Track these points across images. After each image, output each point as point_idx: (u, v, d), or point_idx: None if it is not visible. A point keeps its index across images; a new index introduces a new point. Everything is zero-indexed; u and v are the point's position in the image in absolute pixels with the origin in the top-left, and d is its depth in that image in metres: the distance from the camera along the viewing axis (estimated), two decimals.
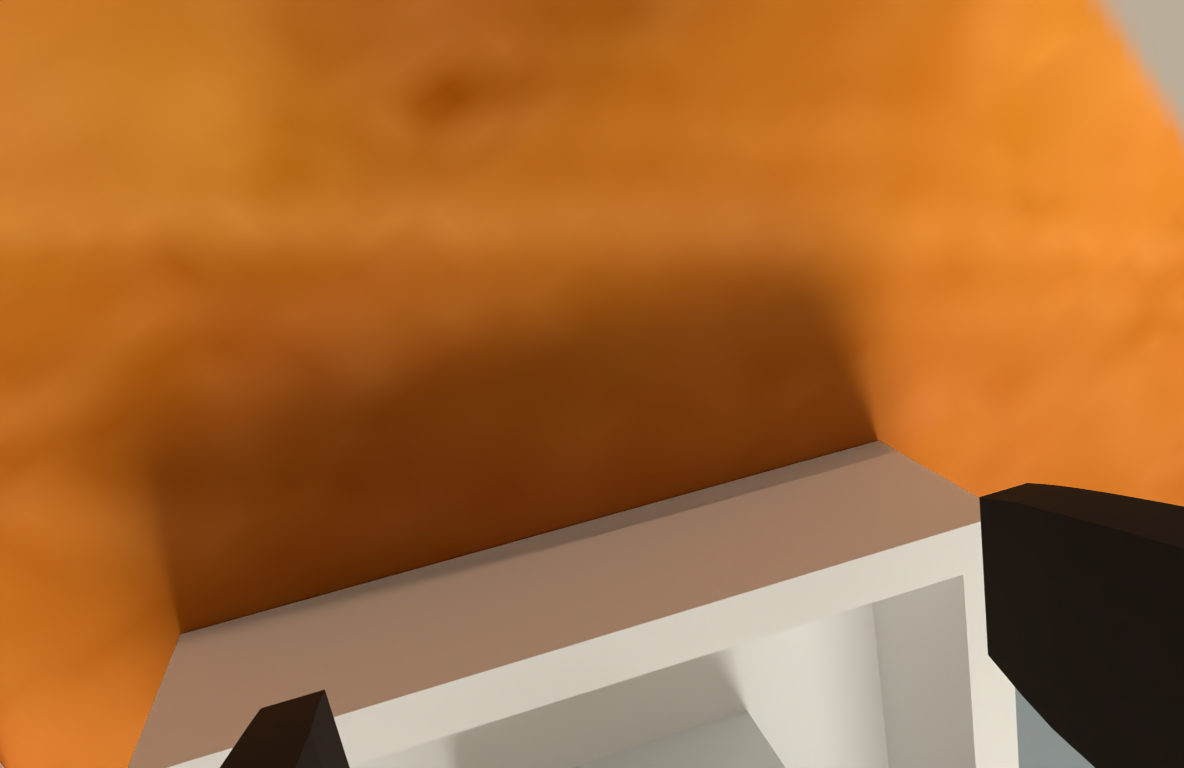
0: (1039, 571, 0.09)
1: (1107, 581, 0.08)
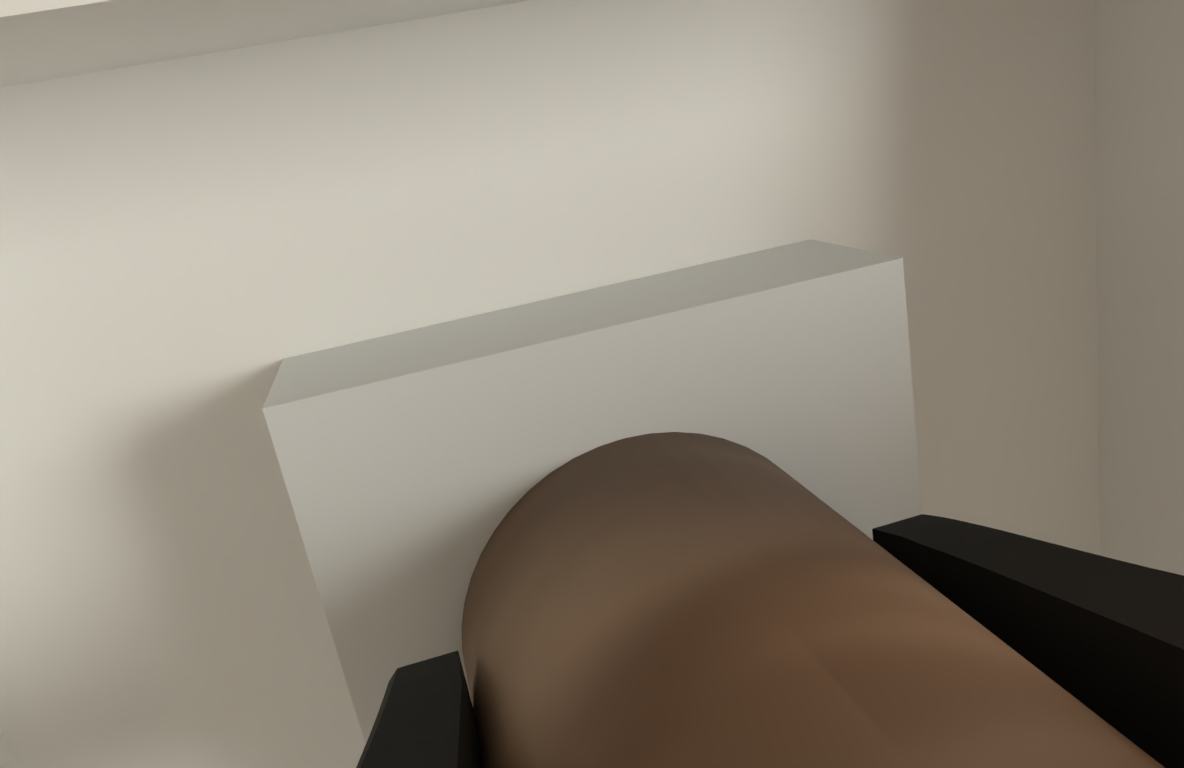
0: None
1: (982, 621, 0.08)
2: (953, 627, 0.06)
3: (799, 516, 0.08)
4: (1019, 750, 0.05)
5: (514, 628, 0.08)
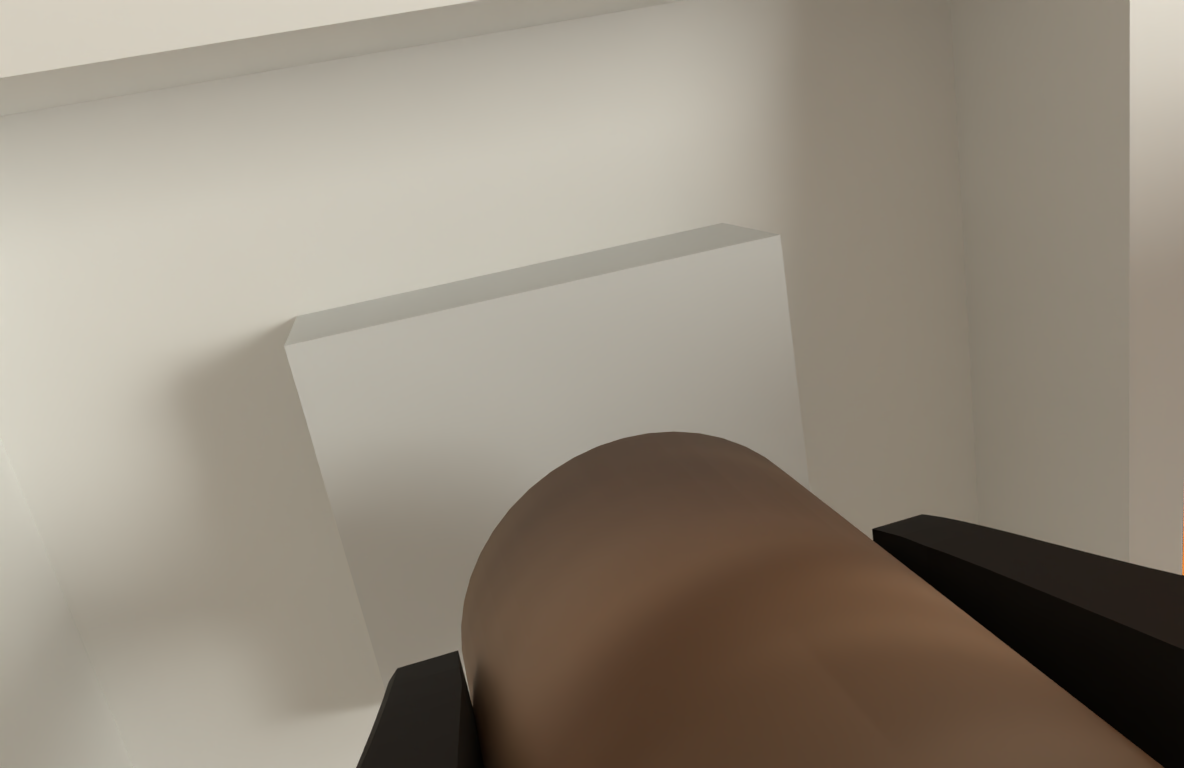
0: None
1: (983, 621, 0.08)
2: (951, 626, 0.06)
3: (799, 516, 0.08)
4: (1019, 749, 0.05)
5: (512, 627, 0.08)
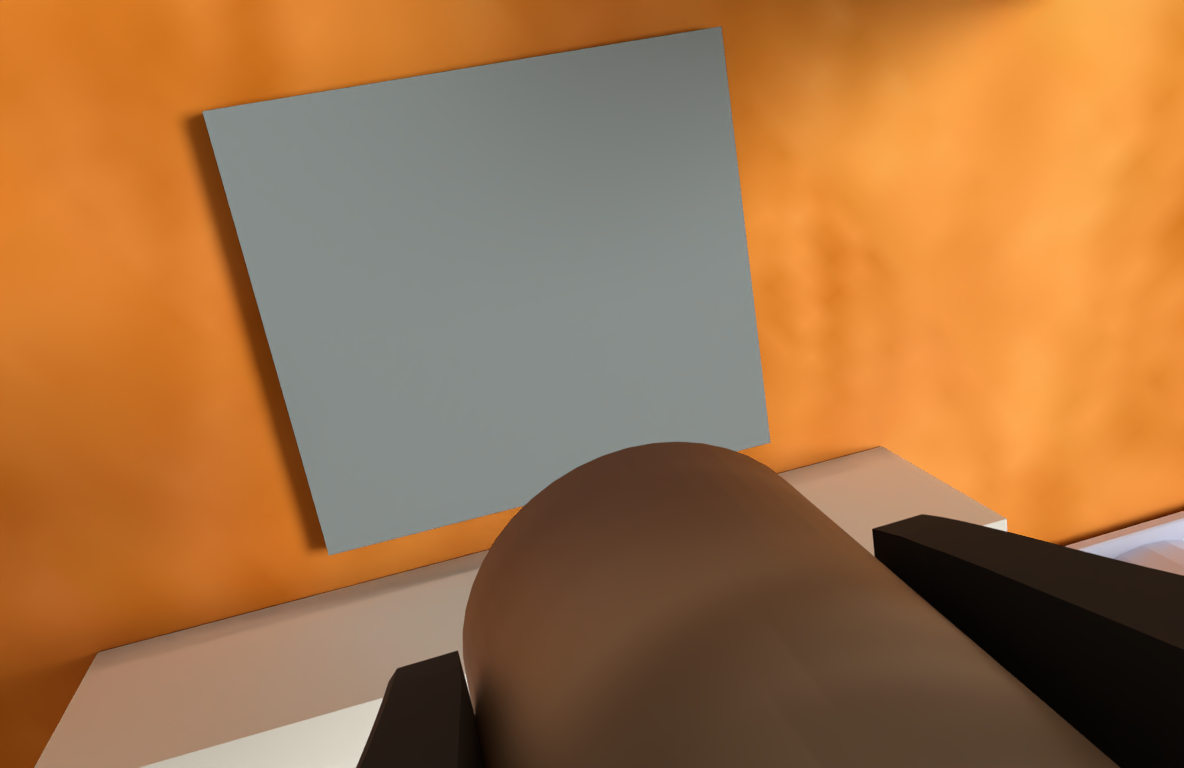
0: None
1: (983, 621, 0.08)
2: (959, 660, 0.06)
3: (804, 536, 0.08)
4: None
5: (517, 642, 0.08)
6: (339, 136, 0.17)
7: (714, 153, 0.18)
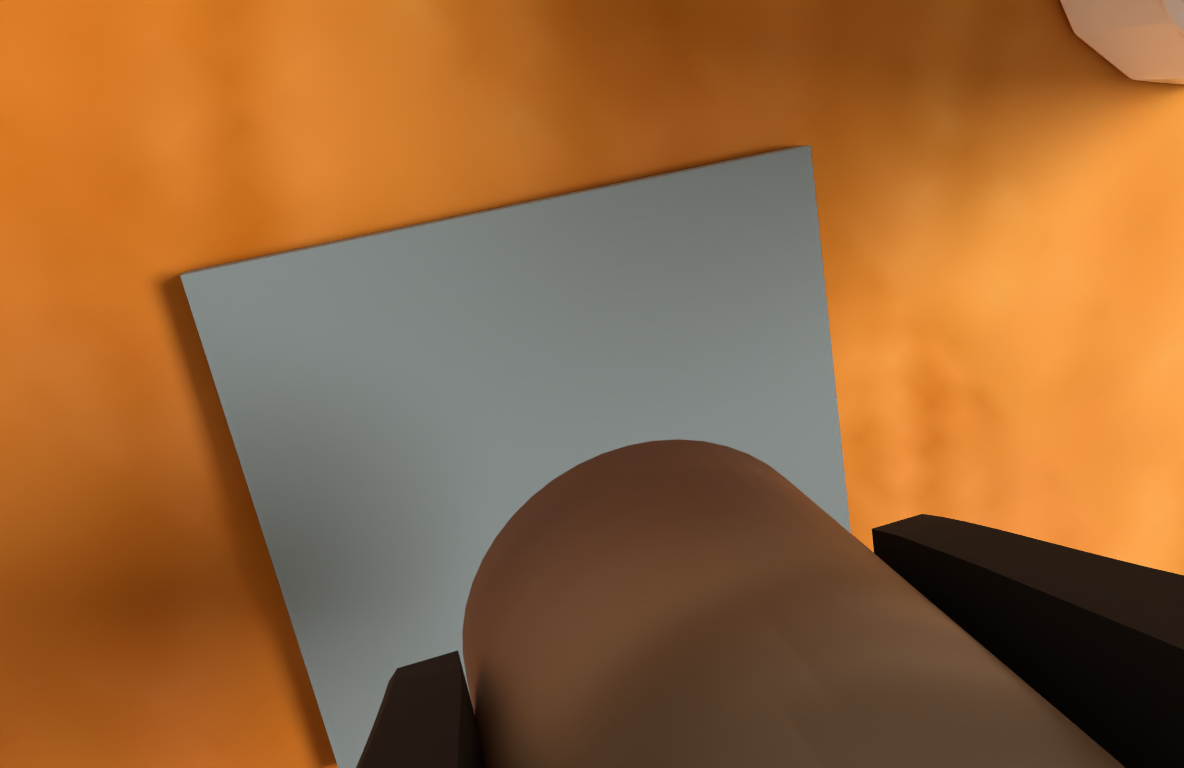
0: None
1: (982, 622, 0.08)
2: (960, 657, 0.06)
3: (805, 534, 0.08)
4: None
5: (517, 641, 0.08)
6: (350, 297, 0.13)
7: (800, 293, 0.15)
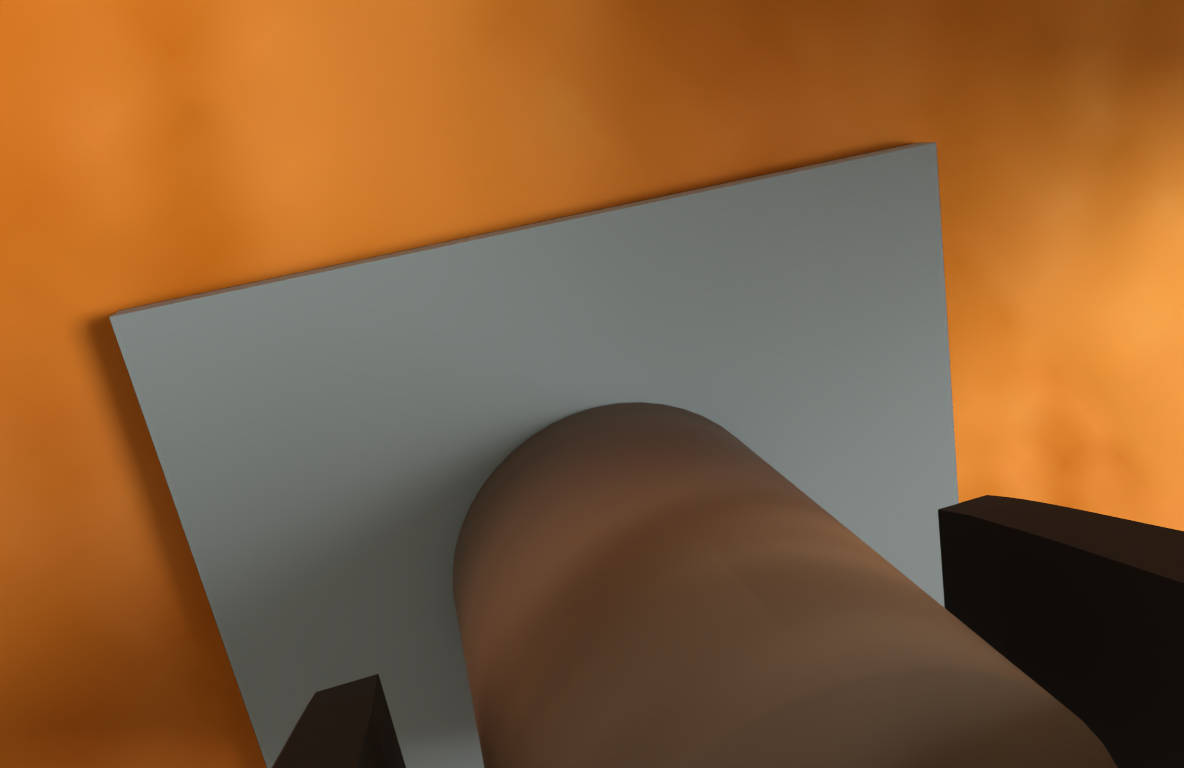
0: (995, 585, 0.09)
1: (1059, 597, 0.08)
2: (848, 552, 0.07)
3: (738, 470, 0.09)
4: (876, 629, 0.06)
5: (496, 562, 0.09)
6: (339, 343, 0.10)
7: (916, 331, 0.12)
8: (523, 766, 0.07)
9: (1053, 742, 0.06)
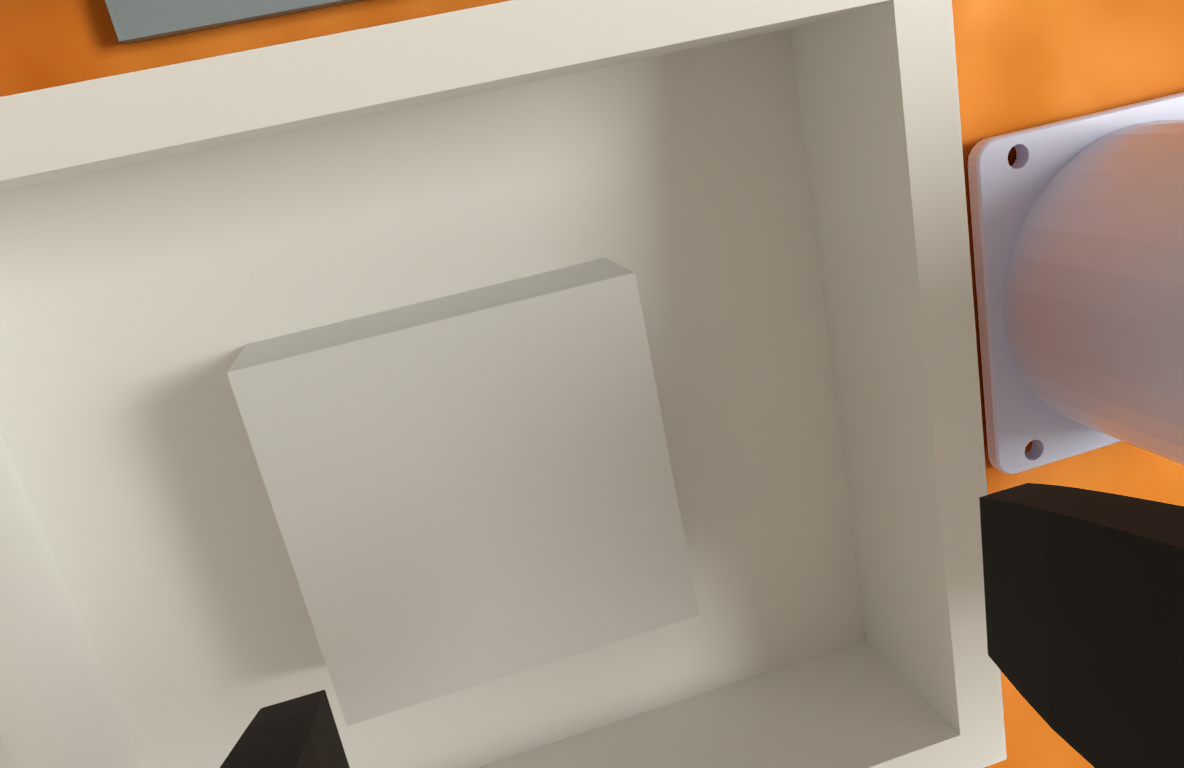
0: (1039, 571, 0.09)
1: (1107, 581, 0.08)
2: None
3: None
4: None
5: None
6: None
7: None
8: None
9: None
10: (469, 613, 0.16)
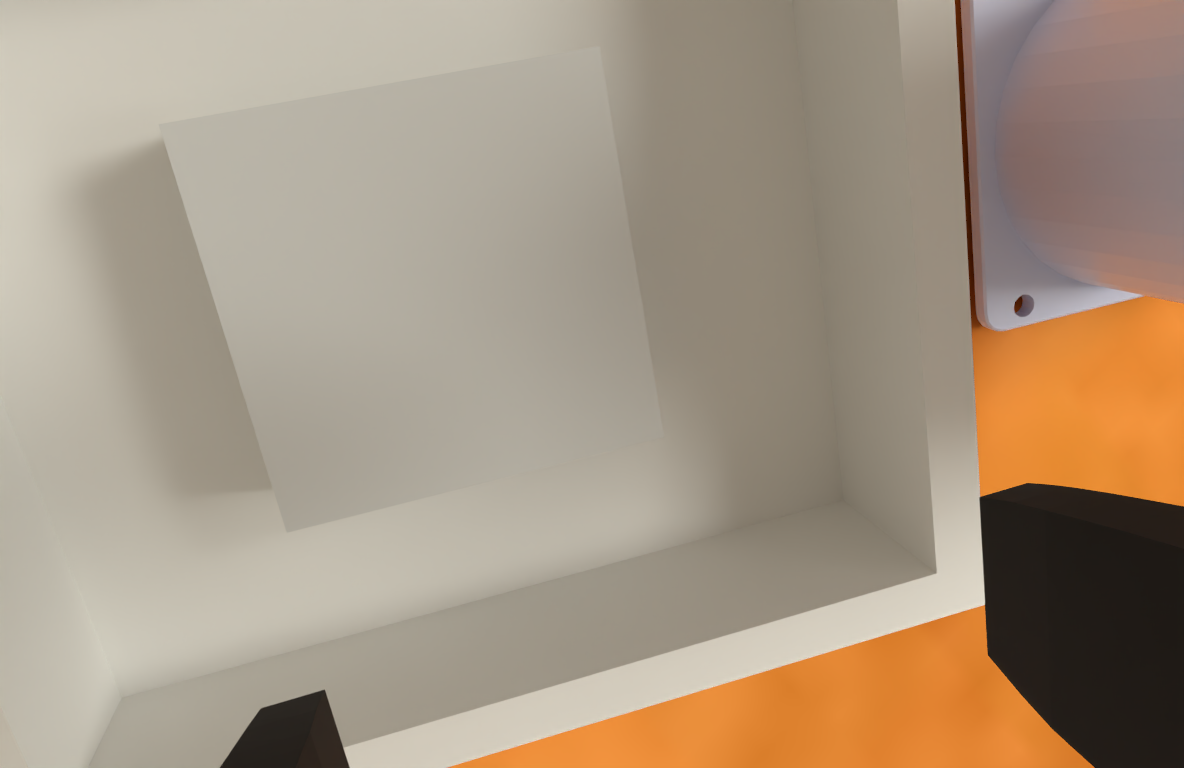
0: (1039, 571, 0.09)
1: (1107, 581, 0.08)
2: None
3: None
4: None
5: None
6: None
7: None
8: None
9: None
10: (418, 416, 0.16)
